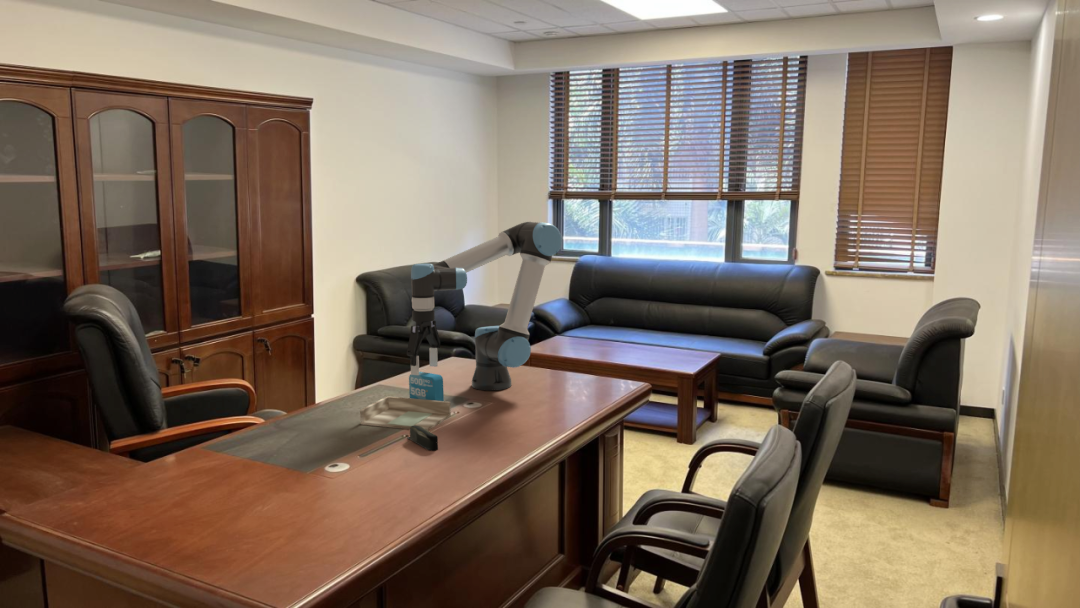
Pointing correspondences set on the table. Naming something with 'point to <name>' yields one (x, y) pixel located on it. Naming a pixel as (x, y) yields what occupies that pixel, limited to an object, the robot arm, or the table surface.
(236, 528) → the table surface
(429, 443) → the mobile phone
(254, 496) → the table surface
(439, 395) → the data package
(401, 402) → the tray
